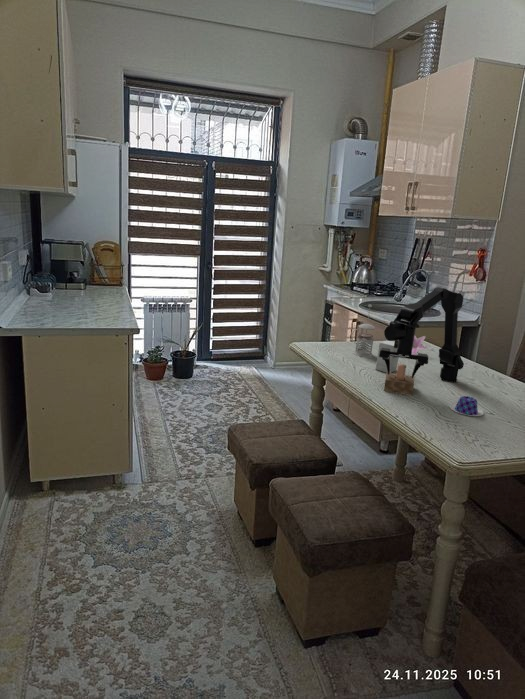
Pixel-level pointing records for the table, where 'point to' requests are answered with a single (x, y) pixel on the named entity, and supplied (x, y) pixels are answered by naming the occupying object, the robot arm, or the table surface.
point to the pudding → (467, 406)
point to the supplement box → (393, 360)
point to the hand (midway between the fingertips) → (400, 376)
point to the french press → (369, 340)
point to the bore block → (399, 384)
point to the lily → (417, 345)
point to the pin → (400, 371)
